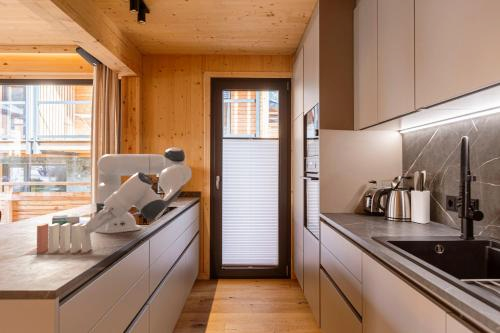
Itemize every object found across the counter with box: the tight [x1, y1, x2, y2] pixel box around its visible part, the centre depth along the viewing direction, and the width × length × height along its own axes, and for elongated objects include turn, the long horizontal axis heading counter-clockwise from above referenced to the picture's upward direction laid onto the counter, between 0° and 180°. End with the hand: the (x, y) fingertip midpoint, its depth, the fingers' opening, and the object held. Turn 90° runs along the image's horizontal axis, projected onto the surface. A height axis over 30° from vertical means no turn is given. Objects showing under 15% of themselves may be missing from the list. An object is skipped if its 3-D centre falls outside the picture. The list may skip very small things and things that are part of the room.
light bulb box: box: [51, 213, 80, 241], centre depth 146 cm, size 11×7×11 cm, turn 117°
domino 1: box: [36, 223, 49, 253], centre depth 123 cm, size 2×5×10 cm, turn 7°
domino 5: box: [79, 222, 93, 252], centre depth 125 cm, size 2×5×10 cm, turn 7°
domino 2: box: [48, 223, 60, 253], centre depth 123 cm, size 2×5×10 cm, turn 7°
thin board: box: [22, 246, 102, 256], centre depth 124 cm, size 24×10×1 cm, turn 97°
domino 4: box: [70, 222, 82, 253], centre depth 124 cm, size 2×5×10 cm, turn 7°
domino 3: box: [59, 223, 71, 253], centre depth 124 cm, size 2×5×10 cm, turn 7°
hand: (88, 232), depth 125 cm, fingers closed
